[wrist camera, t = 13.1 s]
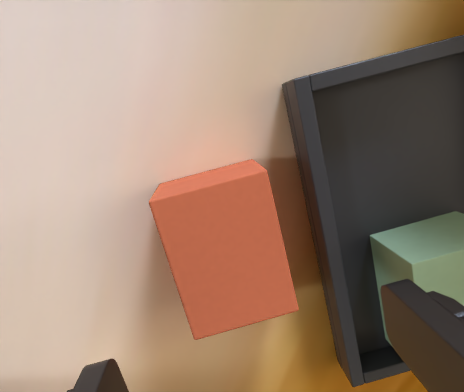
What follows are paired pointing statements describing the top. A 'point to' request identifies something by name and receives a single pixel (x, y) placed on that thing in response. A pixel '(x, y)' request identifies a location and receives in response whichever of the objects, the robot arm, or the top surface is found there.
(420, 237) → the sage pad
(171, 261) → the terracotta pad
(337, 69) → the frame
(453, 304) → the robot arm
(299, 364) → the top surface
